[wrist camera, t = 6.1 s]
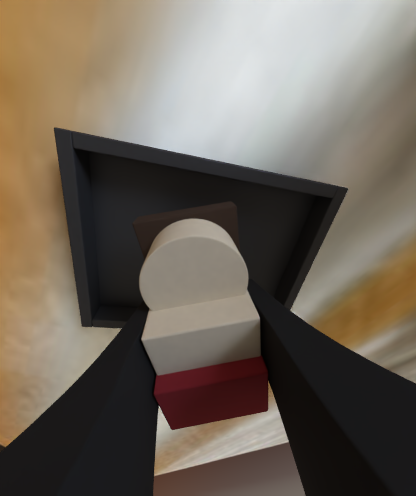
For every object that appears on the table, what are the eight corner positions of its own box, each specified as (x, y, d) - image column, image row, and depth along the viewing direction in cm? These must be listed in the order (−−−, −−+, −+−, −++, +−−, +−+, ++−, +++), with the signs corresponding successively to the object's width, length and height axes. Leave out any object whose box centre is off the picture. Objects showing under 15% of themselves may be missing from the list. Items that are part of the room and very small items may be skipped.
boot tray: (325, 184, 12) (349, 188, 10) (268, 317, 17) (277, 336, 15) (78, 133, 10) (52, 126, 8) (94, 306, 15) (81, 326, 13)
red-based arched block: (242, 322, 12) (272, 413, 8) (175, 334, 12) (168, 434, 8) (231, 200, 8) (276, 241, 4) (137, 216, 8) (83, 275, 4)
